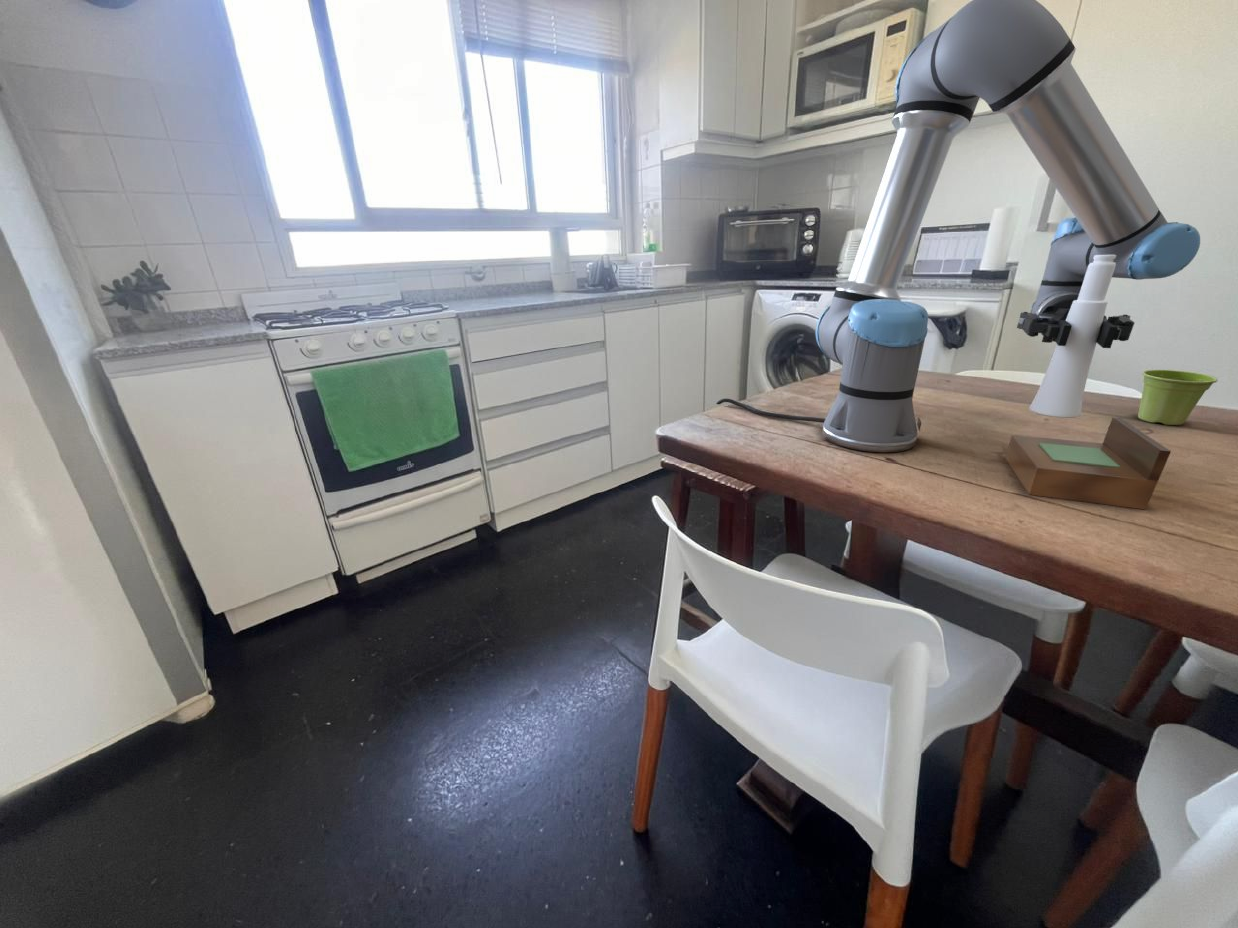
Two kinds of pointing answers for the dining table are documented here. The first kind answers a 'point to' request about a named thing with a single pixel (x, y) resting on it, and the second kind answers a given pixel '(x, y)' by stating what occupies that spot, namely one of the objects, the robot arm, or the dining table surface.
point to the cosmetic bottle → (1076, 346)
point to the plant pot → (1171, 395)
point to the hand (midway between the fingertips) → (1087, 336)
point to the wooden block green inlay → (1091, 466)
